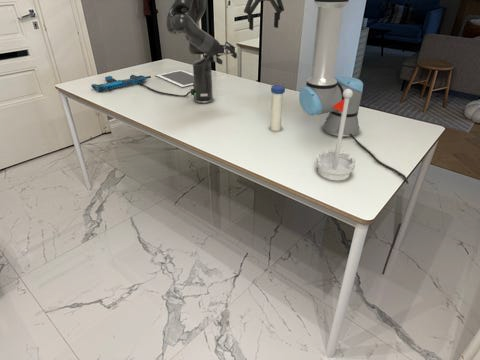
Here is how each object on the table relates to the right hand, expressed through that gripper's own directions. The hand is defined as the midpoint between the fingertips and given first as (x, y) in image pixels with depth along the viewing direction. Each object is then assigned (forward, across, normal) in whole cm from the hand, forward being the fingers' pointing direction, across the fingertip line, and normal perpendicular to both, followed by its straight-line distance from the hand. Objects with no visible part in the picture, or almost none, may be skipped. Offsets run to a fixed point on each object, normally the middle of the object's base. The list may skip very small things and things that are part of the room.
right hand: (263, 28), depth 163 cm
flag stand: (+36, +12, +76) cm, 85 cm away
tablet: (+36, +27, -57) cm, 72 cm away
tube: (+36, +12, +35) cm, 51 cm away
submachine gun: (+36, +64, -63) cm, 96 cm away
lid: (+17, +12, +35) cm, 41 cm away
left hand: (+12, +20, +4) cm, 24 cm away
